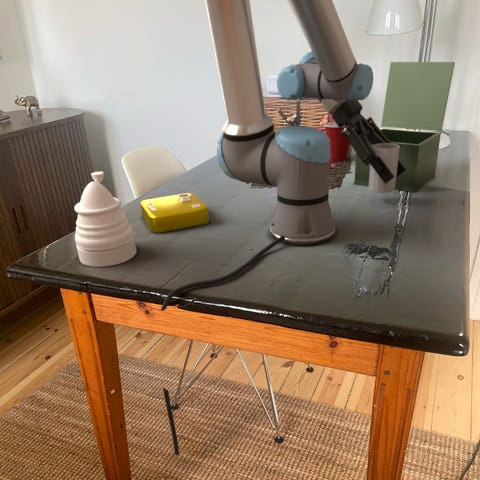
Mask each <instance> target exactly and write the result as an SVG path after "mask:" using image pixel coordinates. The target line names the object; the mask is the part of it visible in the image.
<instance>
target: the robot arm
mask: <svg viewBox="0 0 480 480" xmlns="http://www.w3.org/2000/svg"><path fill="white" fill-rule="evenodd" d="M286 1H287V4H288V5H289V8H290V9H291V11H292V14H293V15H294V17H295V19H296V21H297V24H298V26H299V27H300V30H301V32H302V34H303V35H304V38H305V40H306V42H307V44H308V46H309V49H310V50H311V51H308V52H307V53H305V55H303V56H302V57H301V58H300V60H299V61H298V63H297V64H290V65H288V66H286V67H283V68H282V69H281V70H280V71H279V73H278V74H277V77H276V89H277V92H278V94H279V95H280V97H281V98H282V99H284V100H287V101H297V100H299V99H311V100H312V99H314V100H318V101H319V103H320V104H321V105H322V107H323V110H325V111H326V112H327V113H328V115H331V119H332V120H333V121H334V123H336V124H337V125H338V126H339V127H343V126H345V129H344V130H343V131H342V134H343V135H344V136H345V137H346V139H347V140H348V141H349V143H350V147H352V149H353V150H354V151H355V154H356V153H357V155H358V156H359V158H360V159H361V161H362V162H363V163H364V164H365V165H368V164H369V163H370V164H371V166H372V167H373V168H374V170H375V171H376V172H377V174H378V175H379V176H380V178H381V179H382V180H383V182H384V183H385V184H386V183H388V182H389V181H390V180H391V179H393V178H394V175H393V174H392V173H391V171H390V170H389V169H388V167H387V166H386V165H385V163H384V162H383V161H382V159H381V158H380V157H379V156H378V157H377V156H376V154H375V152H374V150H373V148H372V146H371V144H372V145H375V144H380V143H391V142H390V141H389V140H388V138H387V137H386V136H385V135H384V134H383V132H382V131H381V130H380V129H381V128H379V126H378V125H377V124H376V122H375V120H374V119H373V118H372V117H371V116H369V117H368V118H366V117H365V116H363V115H362V114H361V112H362V111H363V108H364V107H363V105H362V103H361V102H360V101H363V100H366V99H367V98H368V97H369V95H370V94H371V91H372V88H373V86H374V85H373V84H374V72H373V68H372V67H371V66H370V65H369V64H364V63H358V62H357V60H356V56H355V55H354V53H353V50H352V48H351V45H350V42H349V40H348V37H347V35H346V31H345V29H344V27H343V25H342V22H341V20H340V17H339V14H338V12H337V9H336V6H335V4H334V1H333V0H286ZM204 2H205V7H206V12H207V17H208V24H209V29H210V34H211V40H212V44H213V48H214V49H213V50H214V55H215V61H216V66H217V72H218V76H219V82H220V87H221V93H222V97H223V103H224V108H225V109H224V110H225V113H226V119H227V120H226V121H225V123H224V125H223V126H222V133H221V134H220V136H219V138H218V140H217V144H218V146H216V158H217V163H218V166H219V167H220V169H221V171H222V172H223V173H224V175H226V176H227V177H228V178H230V179H233V180H237V181H240V182H241V183H252V184H258V185H265V186H271V187H276V194H277V195H276V198H277V199H276V205H275V208H274V212H273V215H272V219H271V222H270V227H269V233H270V234H269V235H270V237H271V238H272V239H273V240H274V241H271V242H270V243H269V244H268V245H266V246H265V247H263V248H262V249H261V250H260V251H258V252H257V253H256V254H255V255H253V256H252V257H251V258H250V259H249V260H248V261H246V262H245V263H243V264H242V265H240V266H239V267H238V268H236V269H235V270H233V271H232V272H230V273H228V274H226V275H223V276H220V277H217V278H213V279H206V280H199V281H193V282H190V283H187V284H185V285H182V286H179V287H177V288H174V289H173V290H171V291H170V292H168V293H167V295H166V296H165V299H164V301H163V303H162V305H161V307H160V311H162V312H163V311H166V310H167V308H168V305H169V303H170V301H172V298H174V296H176V295H178V294H179V293H182V292H184V291H186V290H189V289H193V288H196V287H201V286H208V285H209V286H210V285H215V284H219V283H223V282H225V281H227V280H230V279H232V278H233V277H235V276H237V275H239V274H240V273H241V272H243V271H244V270H246V269H247V268H249V267H250V266H251V265H253V264H254V263H255V262H256V261H257V260H258V259H259V258H260V257H262V256H263V255H265V254H266V253H267V252H268V251H270V250H271V249H273V248H274V247H275V246H277V245H278V244H279V243H281V244H285V245H291V246H312V245H318V244H321V243H326V242H328V241H330V240H332V239H333V238H334V237H335V236H336V222H335V220H334V216H333V212H332V209H331V206H330V202H329V196H330V195H329V194H330V193H329V192H330V173H331V172H330V170H331V160H330V159H331V153H330V140H329V137H328V136H327V134H326V132H324V131H323V130H320V129H319V128H315V127H311V126H305V125H287V126H281V127H280V128H278V129H277V130H275V123H274V118H272V116H270V115H269V114H268V113H267V112H266V108H265V102H264V94H263V86H262V80H261V72H260V66H259V57H258V52H257V51H258V50H257V45H256V44H257V43H256V35H255V27H254V22H253V21H254V20H253V15H252V7H251V0H204ZM370 143H371V144H370ZM391 144H392V143H391ZM376 157H377V158H376ZM405 170H406V169H405V167H404V166H403V165H402V163H401V162H400V161H399V159H398V168H397V177H398V176H399V175H400V174H402V173H403V172H404V171H405ZM162 390H163V396H164V401H165V407H166V412H167V417H168V421H169V427H170V430H171V435H172V436H171V437H172V443H173V449H174V455H175V456H179V455H180V448H179V442H178V434H177V429H176V425H175V420H174V415H173V410H172V404H171V398H170V393H169V390H168V389H167V388H165V387H162Z"/></svg>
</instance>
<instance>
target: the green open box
mask: <svg viewBox="0 0 480 480" xmlns="http://www.w3.org/2000/svg"><path fill="white" fill-rule="evenodd" d="M379 129H380V130H381V131H382V132H383V134H384V135H385V136H386V137H387V138H388V140H389V141H390V142H391V143H392V144H397V145H399V146H400V150H399V161H400V162H401V163H402V165H403V166H404V167H405V169H406V170H405V171H404V172H403V173H402V174H400V175H399V176H398V177H396V186H395V190H394V191H401V192H408V193H415V192H417V191H418V190H420V189H422V187H423V186H425V185H426V184H427V183H429V182H430V181H432V180H433V179H434V178H435V177H436V172H437V171H436V170H437V163H438V156H439V150H440V143H441V136H442V135H441V134H442V132H440V131H427V130H414V129H401V128H388V127H386V128H385V127H381V128H379ZM370 144H371V143H370ZM371 146H372V144H371ZM354 166H355V167H354V182H353V183H354V185H359V186H365V187H368V186H369V174H370V163H369V164H368V165H365V164H364V163H363V162H362V161H361V159H360V158H359V156H358V155H357V153H356V152H355V165H354Z"/></svg>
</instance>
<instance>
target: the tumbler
mask: <svg viewBox="0 0 480 480" xmlns="http://www.w3.org/2000/svg"><path fill="white" fill-rule="evenodd" d="M372 148H373V150H374V152H375V154H376V156H377V157H378V156H379V157H380V158H381V159H382V161H383V162H384V163H385V165H386V166H387V167H388V169H389V170H390V171H391V173H392V174H393V175H394V178H393V179H391V180H390V181H389V182H388V183H386V184H385V183H384V182H383V180H382V179H381V178H380V176H379V175H378V174H377V172H376V171H375V170H374V168H373V167H372V166H371V164H370V174H369V186H367V188H368V190H369V191H370V192H373V193H377V194H386V193H387V194H388V193H393V192H394V191H396V190H395V186H396V177H397V168H398V159H399V150H400V146H399V145H397V144H391V143H380V144H375V145H372ZM377 157H376V158H377Z"/></svg>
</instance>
